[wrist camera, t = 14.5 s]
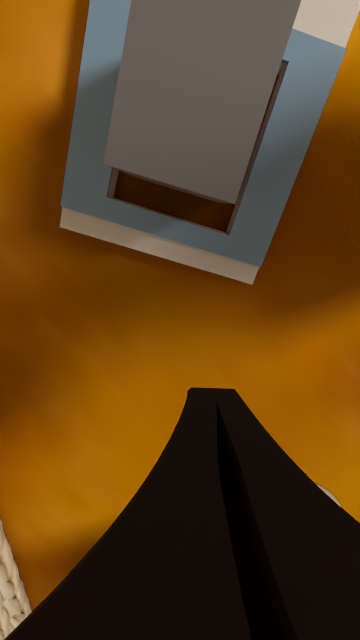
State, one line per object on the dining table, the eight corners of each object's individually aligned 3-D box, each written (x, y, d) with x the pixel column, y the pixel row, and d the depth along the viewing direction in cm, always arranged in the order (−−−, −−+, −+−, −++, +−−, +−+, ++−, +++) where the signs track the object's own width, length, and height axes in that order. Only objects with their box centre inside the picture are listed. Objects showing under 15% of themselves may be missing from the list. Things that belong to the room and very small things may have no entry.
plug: (250, 87, 14) (304, -9, 8) (215, 202, 16) (235, 204, 9) (164, 59, 14) (143, -69, 7) (139, 178, 16) (103, 163, 9)
